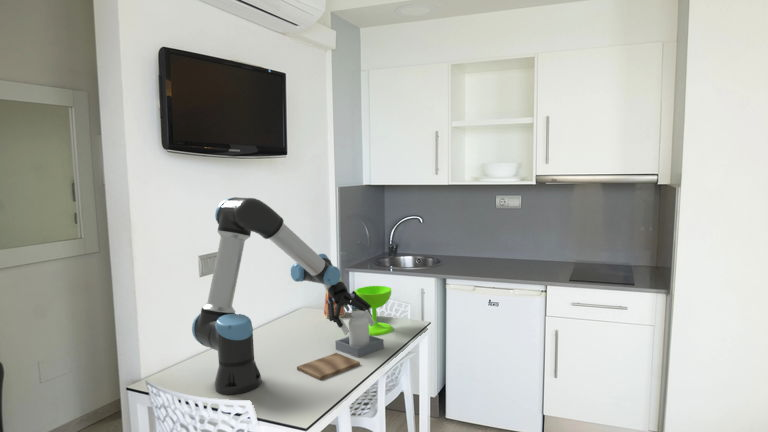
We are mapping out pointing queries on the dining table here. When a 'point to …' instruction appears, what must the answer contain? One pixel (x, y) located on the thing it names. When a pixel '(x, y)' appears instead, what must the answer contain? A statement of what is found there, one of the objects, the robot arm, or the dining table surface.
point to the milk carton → (326, 308)
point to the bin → (360, 351)
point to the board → (328, 366)
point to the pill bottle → (358, 329)
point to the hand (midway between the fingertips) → (360, 328)
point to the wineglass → (376, 306)
